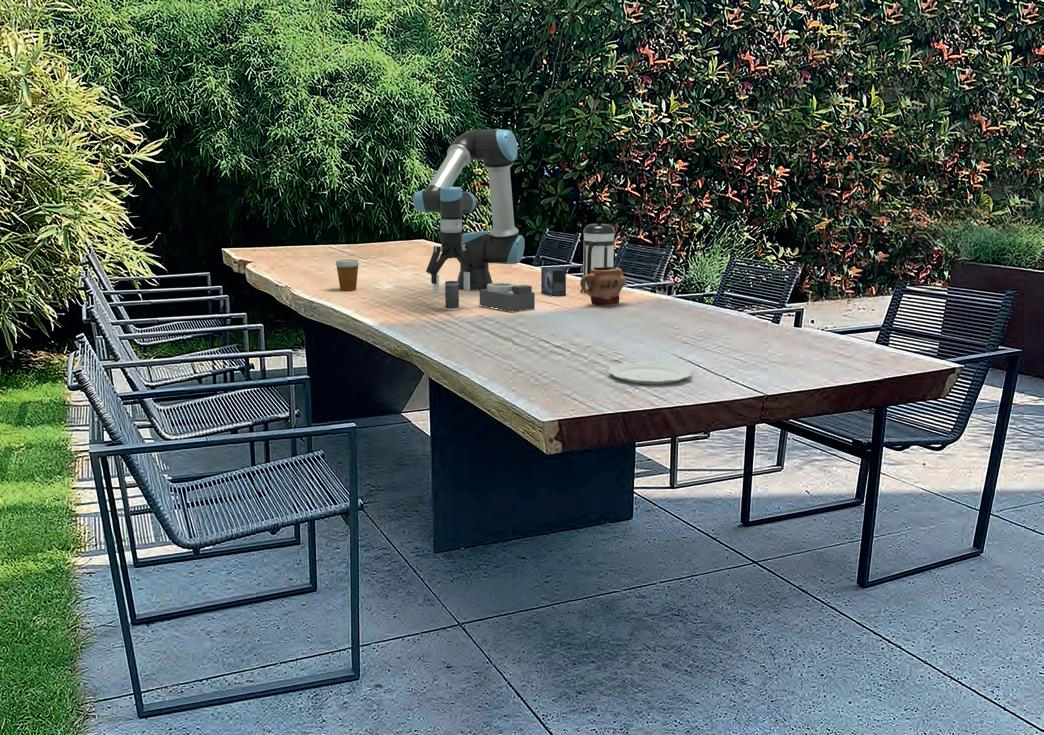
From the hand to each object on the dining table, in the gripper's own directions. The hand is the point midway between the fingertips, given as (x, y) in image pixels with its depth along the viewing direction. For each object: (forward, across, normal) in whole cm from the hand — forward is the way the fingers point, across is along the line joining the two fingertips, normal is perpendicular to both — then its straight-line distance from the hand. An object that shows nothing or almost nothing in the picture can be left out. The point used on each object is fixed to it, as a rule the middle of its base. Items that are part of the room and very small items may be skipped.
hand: (451, 291), depth 335 cm
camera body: (+6, +18, -9) cm, 21 cm away
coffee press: (+6, +70, -4) cm, 71 cm away
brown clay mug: (+6, +49, -27) cm, 57 cm away
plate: (+8, -23, -114) cm, 116 cm away
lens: (+7, 0, 0) cm, 7 cm away
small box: (+6, +53, +4) cm, 54 cm away
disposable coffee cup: (+6, -4, +65) cm, 66 cm away
